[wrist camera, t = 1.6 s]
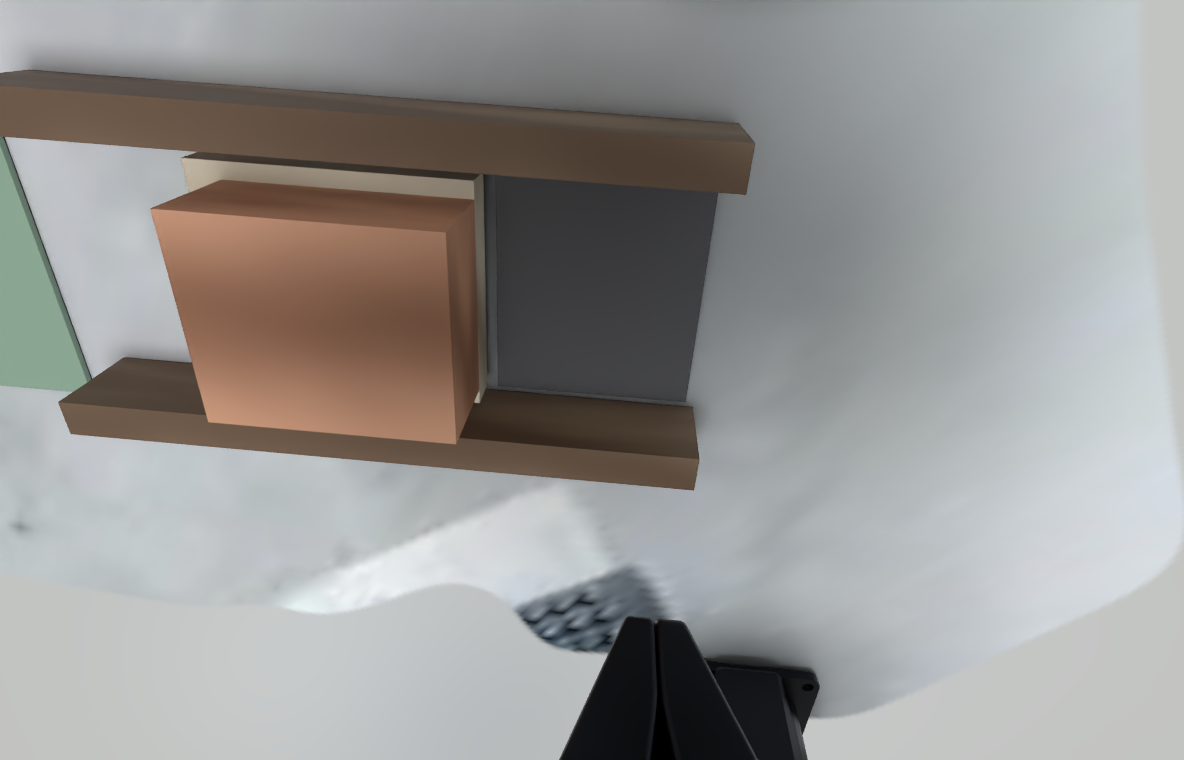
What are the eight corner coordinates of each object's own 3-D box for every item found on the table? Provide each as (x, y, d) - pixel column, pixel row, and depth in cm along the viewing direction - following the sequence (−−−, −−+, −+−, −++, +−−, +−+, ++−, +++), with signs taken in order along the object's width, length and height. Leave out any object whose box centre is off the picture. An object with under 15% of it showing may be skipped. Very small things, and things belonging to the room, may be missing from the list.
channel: (688, 435, 23) (693, 490, 21) (133, 386, 24) (70, 433, 21) (738, 123, 18) (755, 143, 15) (28, 69, 19) (-71, 80, 16)
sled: (487, 384, 22) (456, 458, 19) (253, 364, 22) (177, 433, 19) (483, 170, 19) (444, 211, 15) (206, 149, 19) (102, 183, 15)
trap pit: (685, 399, 23) (685, 402, 22) (498, 382, 23) (497, 385, 23) (719, 178, 19) (719, 179, 19) (496, 160, 19) (495, 162, 19)
